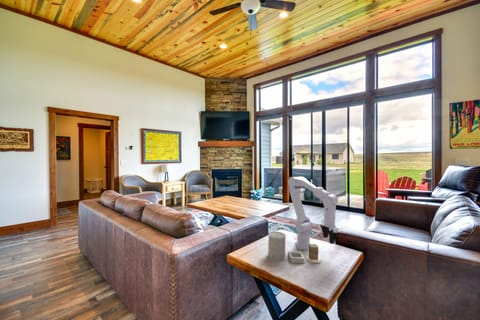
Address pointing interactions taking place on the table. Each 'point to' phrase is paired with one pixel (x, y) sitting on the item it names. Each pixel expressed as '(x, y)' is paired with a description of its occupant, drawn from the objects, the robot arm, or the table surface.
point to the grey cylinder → (276, 246)
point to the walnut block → (313, 252)
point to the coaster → (314, 260)
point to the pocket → (296, 257)
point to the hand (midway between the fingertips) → (328, 240)
